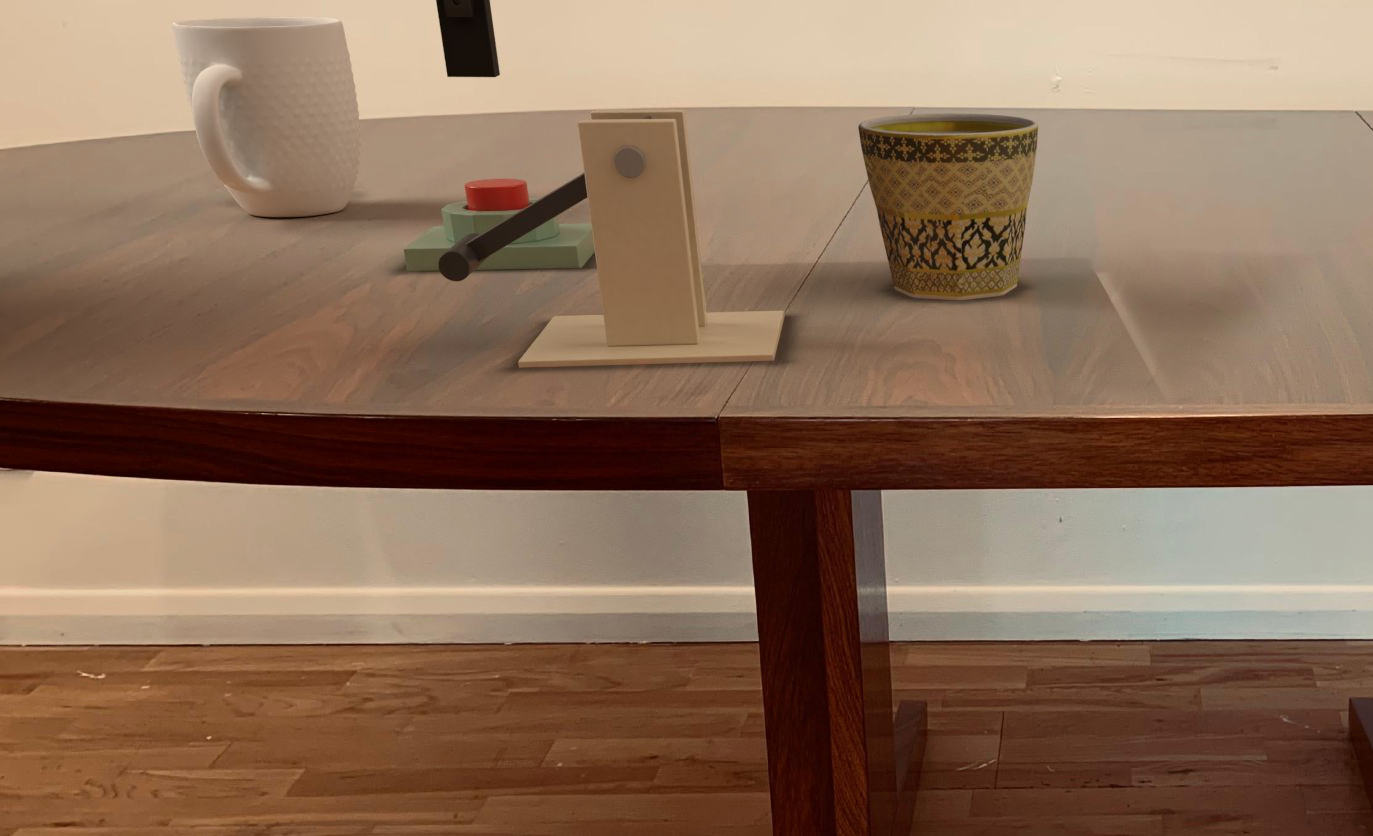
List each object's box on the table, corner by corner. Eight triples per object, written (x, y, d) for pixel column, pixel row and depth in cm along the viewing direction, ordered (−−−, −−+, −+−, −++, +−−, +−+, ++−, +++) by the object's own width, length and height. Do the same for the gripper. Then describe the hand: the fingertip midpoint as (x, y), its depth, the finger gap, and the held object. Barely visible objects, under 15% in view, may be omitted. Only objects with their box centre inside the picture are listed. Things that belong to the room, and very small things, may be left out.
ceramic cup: (1011, 326, 96) (1005, 137, 92) (842, 315, 98) (829, 130, 94) (1077, 281, 107) (1074, 111, 103) (925, 272, 109) (916, 105, 105)
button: (463, 217, 105) (458, 187, 104) (475, 207, 108) (471, 179, 108) (524, 216, 106) (520, 187, 105) (535, 207, 109) (531, 178, 108)
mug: (306, 234, 120) (265, 31, 114) (151, 232, 120) (102, 29, 114) (403, 200, 133) (370, 17, 127) (262, 198, 133) (224, 15, 128)
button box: (409, 286, 104) (397, 217, 103) (440, 260, 111) (429, 196, 110) (581, 282, 106) (572, 215, 104) (601, 257, 113) (592, 194, 111)
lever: (457, 295, 84) (424, 251, 83) (479, 275, 88) (448, 233, 87) (670, 169, 83) (640, 123, 82) (681, 155, 87) (653, 111, 86)
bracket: (521, 386, 83) (481, 129, 78) (556, 338, 92) (523, 105, 87) (775, 378, 85) (752, 126, 80) (786, 332, 94) (766, 103, 89)
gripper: (453, -404, 88) (518, 87, 98) (504, -369, 100) (557, 67, 110) (297, -411, 87) (379, 86, 97) (366, -374, 99) (433, 66, 109)
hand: (473, 75), depth 104 cm, fingers closed
